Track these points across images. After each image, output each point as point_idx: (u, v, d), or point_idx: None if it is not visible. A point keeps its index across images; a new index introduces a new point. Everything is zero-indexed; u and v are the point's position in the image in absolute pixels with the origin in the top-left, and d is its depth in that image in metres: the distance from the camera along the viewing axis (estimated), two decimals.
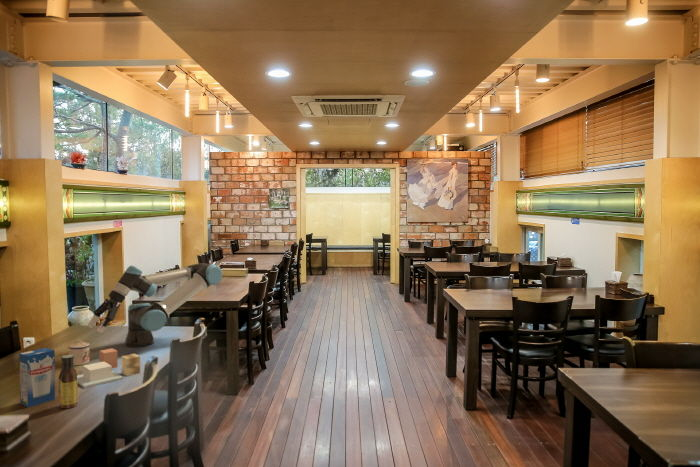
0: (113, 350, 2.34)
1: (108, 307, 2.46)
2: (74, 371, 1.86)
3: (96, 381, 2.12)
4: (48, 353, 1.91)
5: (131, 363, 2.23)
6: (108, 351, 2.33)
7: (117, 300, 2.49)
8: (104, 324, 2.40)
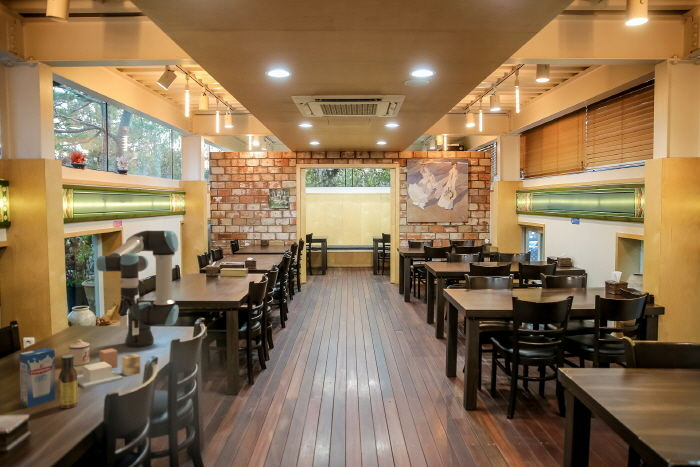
0: (113, 350, 2.34)
1: (128, 307, 2.22)
2: (74, 371, 1.86)
3: (96, 381, 2.12)
4: (48, 353, 1.91)
5: (131, 363, 2.23)
6: (108, 351, 2.33)
7: (132, 296, 2.22)
8: (135, 326, 2.19)
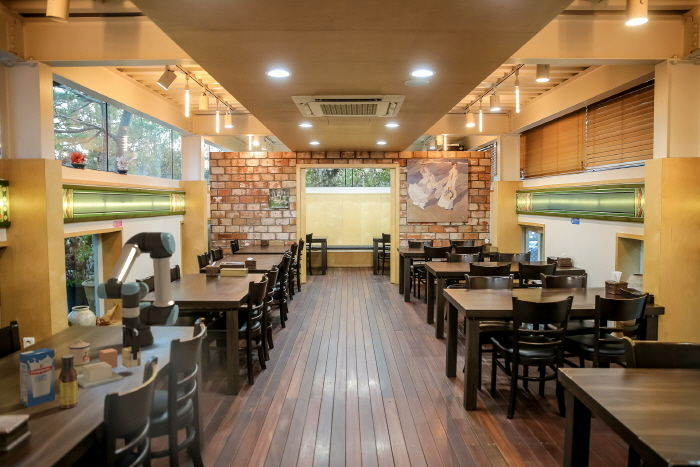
0: (113, 350, 2.34)
1: (129, 337, 2.23)
2: (74, 371, 1.86)
3: (96, 381, 2.12)
4: (48, 353, 1.91)
5: None
6: (108, 351, 2.33)
7: (134, 325, 2.23)
8: (134, 358, 2.23)
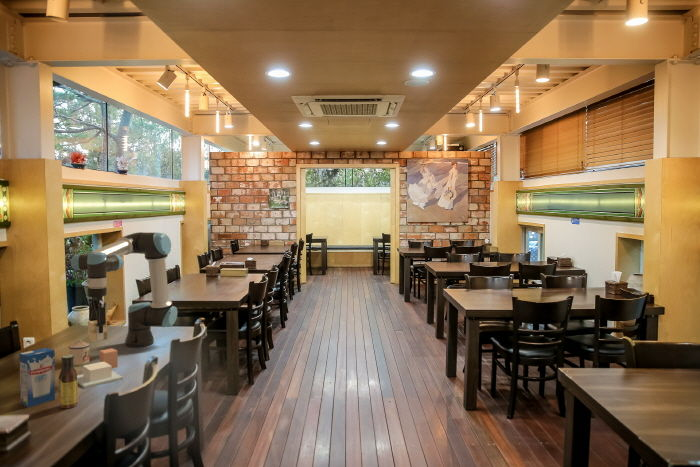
0: (113, 350, 2.34)
1: (94, 309, 2.13)
2: (74, 371, 1.86)
3: (96, 381, 2.12)
4: (48, 353, 1.91)
5: None
6: (108, 351, 2.33)
7: (100, 296, 2.13)
8: (100, 331, 2.13)
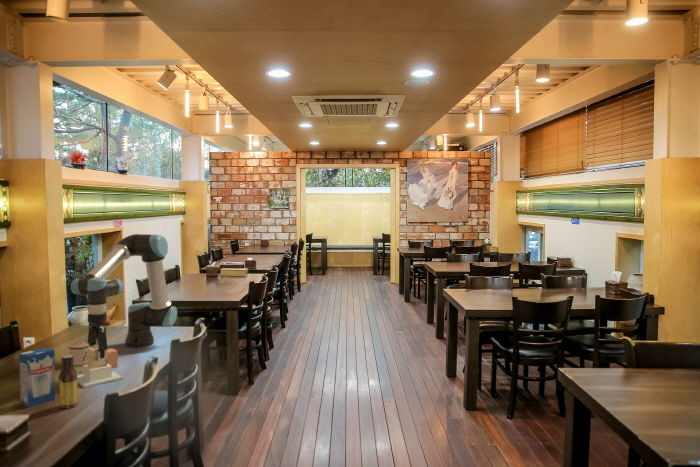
0: (113, 350, 2.34)
1: (95, 335, 2.13)
2: (74, 371, 1.86)
3: (96, 381, 2.12)
4: (48, 353, 1.91)
5: (97, 355, 2.14)
6: (108, 351, 2.33)
7: (100, 322, 2.14)
8: (101, 356, 2.12)
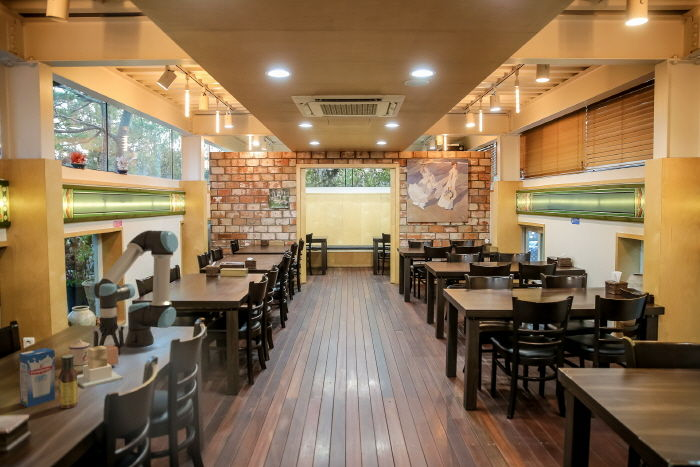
0: (113, 347, 2.34)
1: None
2: (74, 371, 1.86)
3: (96, 381, 2.12)
4: (48, 353, 1.91)
5: (97, 355, 2.14)
6: (108, 348, 2.33)
7: (100, 325, 2.31)
8: None
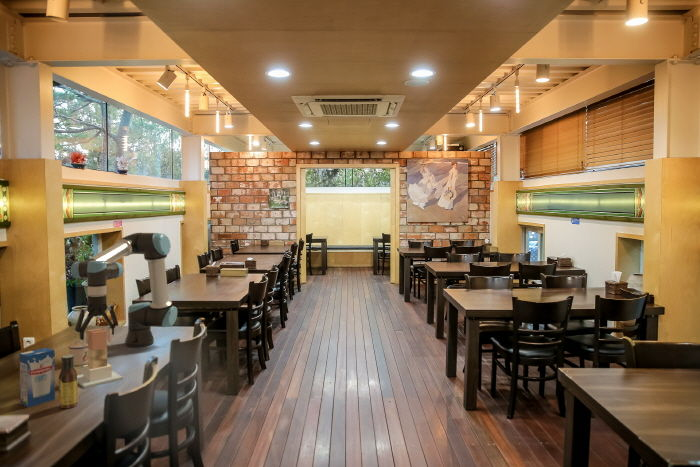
0: (102, 330, 2.17)
1: None
2: (74, 371, 1.86)
3: (96, 381, 2.12)
4: (48, 353, 1.91)
5: (97, 355, 2.14)
6: (97, 331, 2.15)
7: (88, 304, 2.13)
8: None
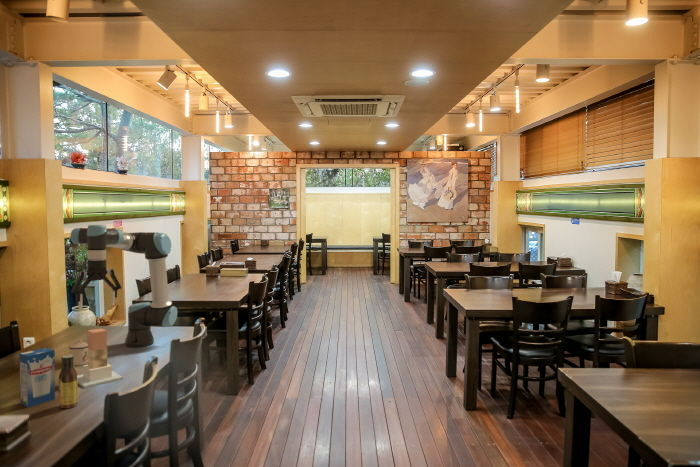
0: (102, 330, 2.17)
1: None
2: (74, 371, 1.86)
3: (96, 381, 2.12)
4: (48, 353, 1.91)
5: (97, 355, 2.14)
6: (97, 331, 2.15)
7: (87, 268, 2.13)
8: (76, 299, 2.10)
